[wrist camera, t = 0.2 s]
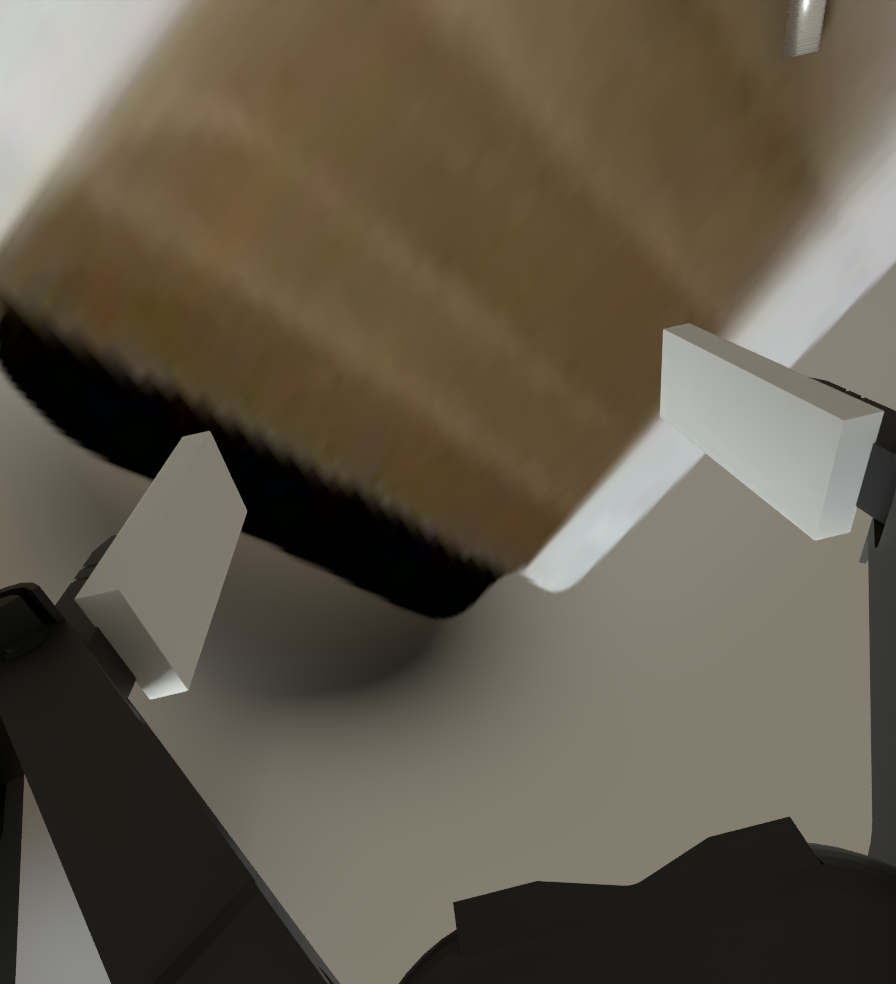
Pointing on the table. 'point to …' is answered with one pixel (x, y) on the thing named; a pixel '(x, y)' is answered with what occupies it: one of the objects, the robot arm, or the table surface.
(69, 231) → the table surface
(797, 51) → the block
